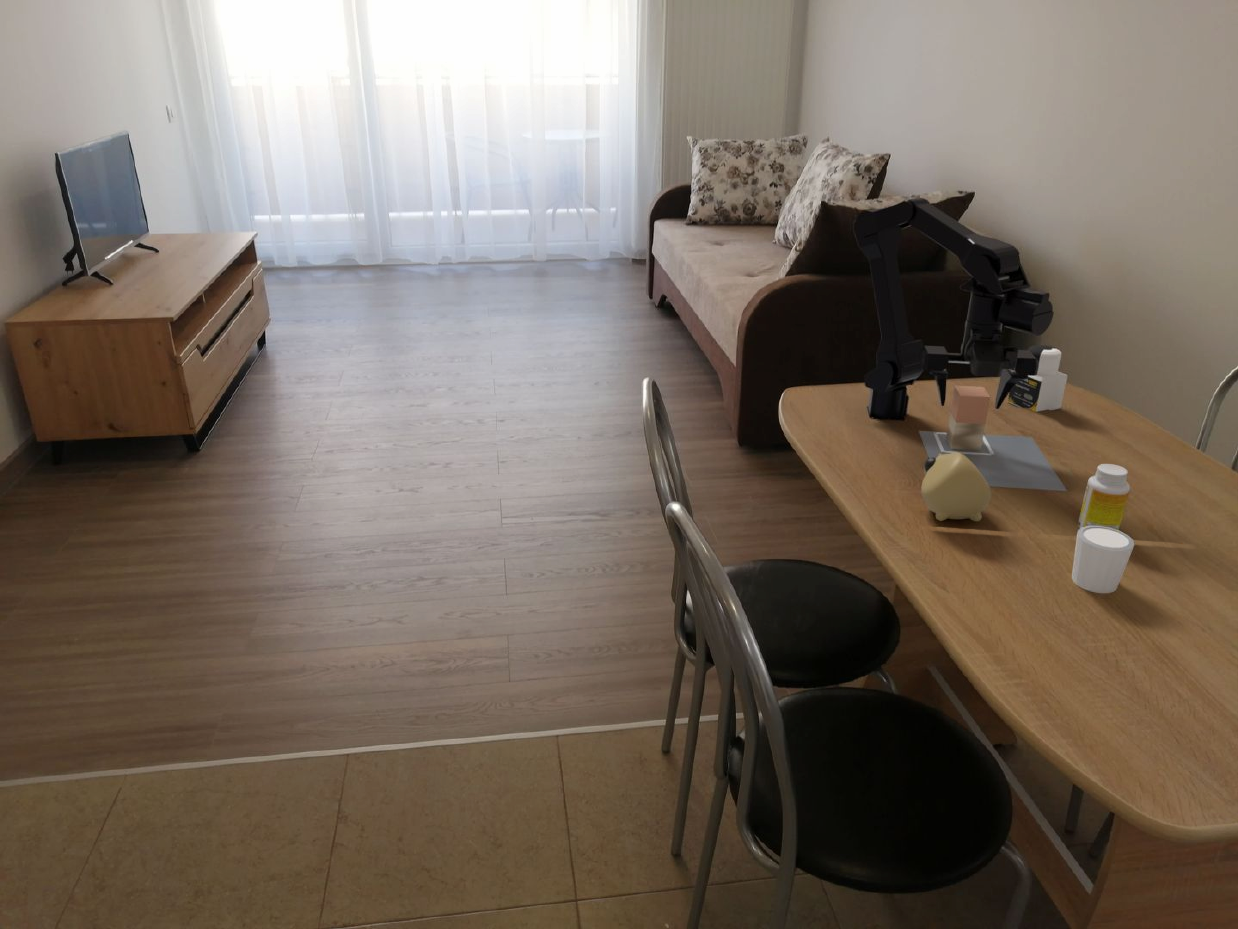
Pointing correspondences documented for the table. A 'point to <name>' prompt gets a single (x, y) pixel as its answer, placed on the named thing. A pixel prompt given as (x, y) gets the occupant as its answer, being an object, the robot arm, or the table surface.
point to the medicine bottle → (1041, 382)
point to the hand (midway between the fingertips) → (969, 406)
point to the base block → (964, 435)
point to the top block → (969, 404)
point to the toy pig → (954, 487)
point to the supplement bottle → (1105, 497)
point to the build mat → (1002, 460)
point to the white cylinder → (1100, 558)
